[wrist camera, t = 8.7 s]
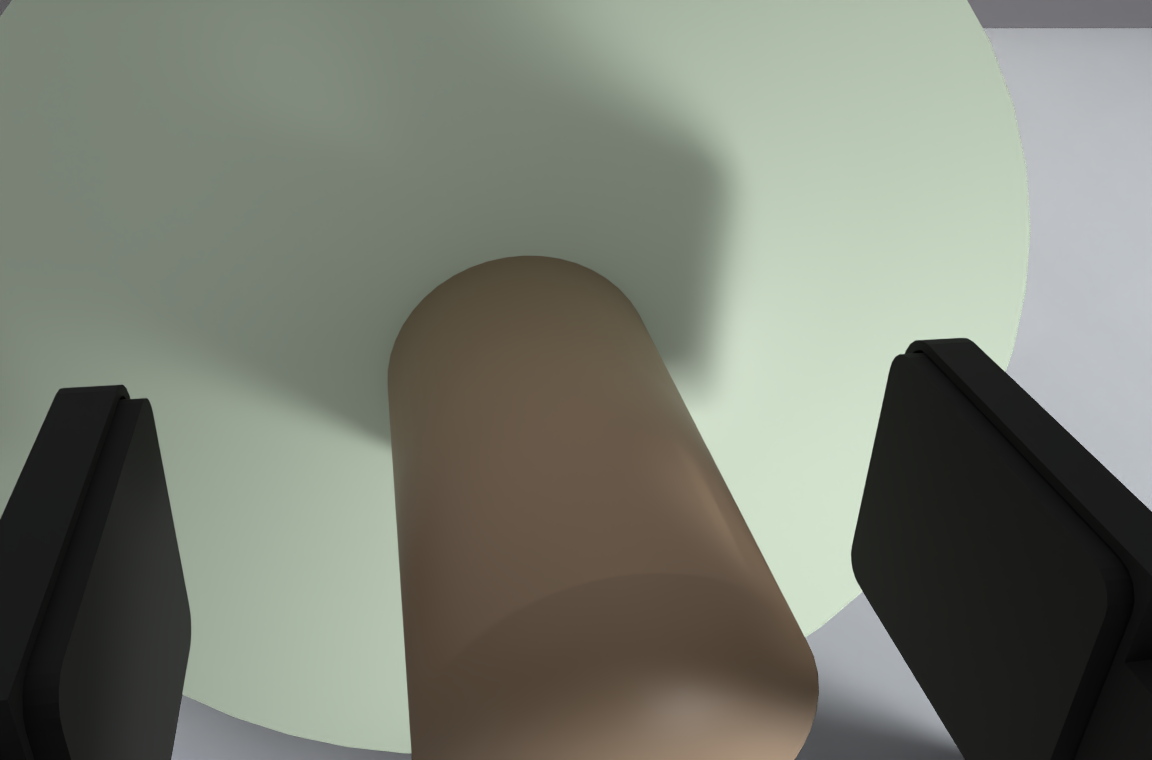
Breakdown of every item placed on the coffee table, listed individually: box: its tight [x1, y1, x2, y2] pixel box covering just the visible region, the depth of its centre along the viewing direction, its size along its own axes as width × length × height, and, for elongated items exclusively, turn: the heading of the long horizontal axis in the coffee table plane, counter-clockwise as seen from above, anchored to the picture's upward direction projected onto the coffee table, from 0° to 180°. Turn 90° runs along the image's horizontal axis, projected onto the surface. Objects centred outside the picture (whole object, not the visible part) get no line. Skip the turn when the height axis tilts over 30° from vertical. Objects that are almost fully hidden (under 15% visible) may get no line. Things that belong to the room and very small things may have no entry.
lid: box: [0, 0, 1030, 760], centre depth 11 cm, size 13×13×6 cm
